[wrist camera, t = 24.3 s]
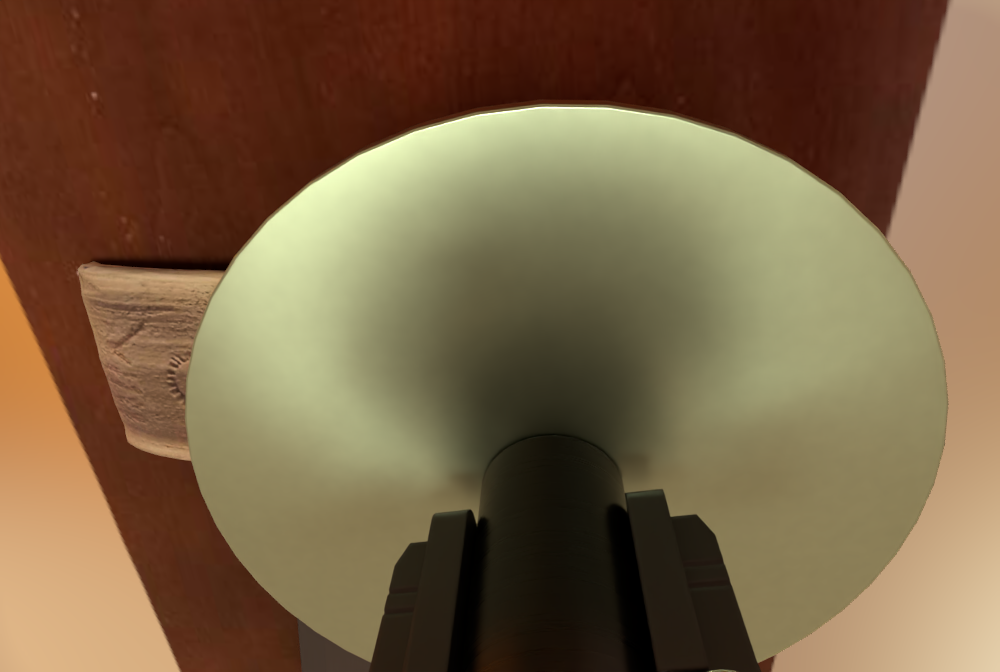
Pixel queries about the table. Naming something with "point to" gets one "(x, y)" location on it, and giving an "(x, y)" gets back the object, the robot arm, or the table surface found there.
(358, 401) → the lid
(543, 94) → the table surface
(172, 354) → the fragment
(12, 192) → the table surface
